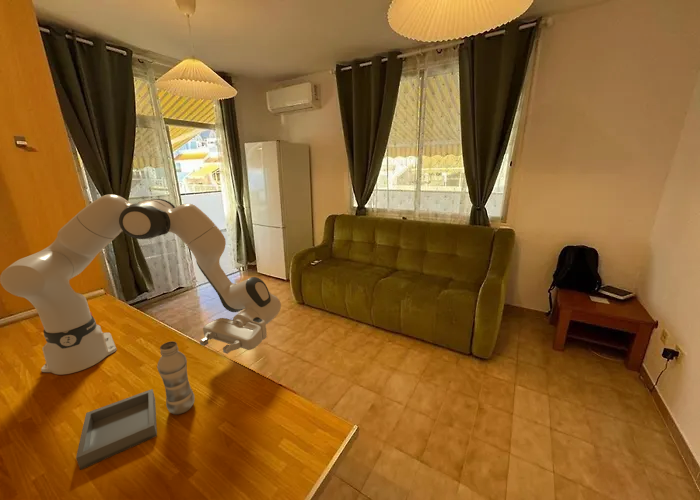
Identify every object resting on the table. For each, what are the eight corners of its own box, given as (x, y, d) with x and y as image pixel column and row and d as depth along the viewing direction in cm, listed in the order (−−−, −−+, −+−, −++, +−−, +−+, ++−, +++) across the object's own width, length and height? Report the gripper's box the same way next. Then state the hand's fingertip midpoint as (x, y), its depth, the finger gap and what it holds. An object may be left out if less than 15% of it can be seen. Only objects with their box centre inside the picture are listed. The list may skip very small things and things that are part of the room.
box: (89, 423, 73) (86, 412, 72) (155, 398, 80) (152, 388, 79) (80, 469, 62) (75, 458, 61) (156, 436, 69) (154, 425, 68)
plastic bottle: (184, 420, 74) (169, 355, 68) (162, 415, 75) (146, 351, 69) (201, 400, 80) (189, 339, 74) (180, 396, 81) (167, 336, 75)
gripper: (221, 310, 100) (186, 330, 88) (268, 322, 92) (237, 346, 80) (224, 325, 102) (190, 347, 90) (270, 338, 94) (240, 364, 82)
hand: (212, 347), depth 85 cm, fingers open, 8 cm apart
